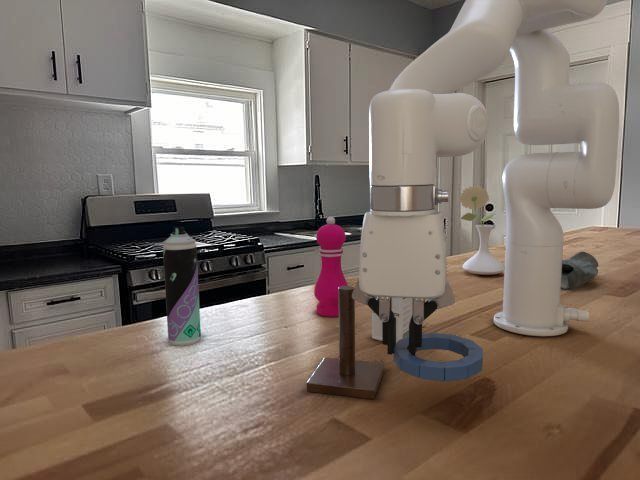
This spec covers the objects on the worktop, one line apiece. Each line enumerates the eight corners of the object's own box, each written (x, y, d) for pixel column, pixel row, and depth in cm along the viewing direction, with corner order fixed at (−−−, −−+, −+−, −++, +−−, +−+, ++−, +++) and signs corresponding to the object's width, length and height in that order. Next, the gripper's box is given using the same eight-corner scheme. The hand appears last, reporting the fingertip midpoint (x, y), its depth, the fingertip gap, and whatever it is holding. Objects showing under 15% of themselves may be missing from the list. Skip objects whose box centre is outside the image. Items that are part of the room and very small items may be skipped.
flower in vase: (508, 271, 134) (511, 185, 131) (499, 279, 124) (503, 186, 121) (462, 267, 141) (464, 185, 138) (451, 274, 131) (453, 186, 128)
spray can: (171, 347, 77) (164, 229, 75) (166, 338, 82) (159, 226, 80) (204, 342, 80) (198, 226, 77) (197, 332, 85) (191, 224, 82)
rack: (384, 370, 67) (384, 281, 66) (374, 399, 59) (374, 298, 57) (324, 364, 70) (323, 278, 68) (306, 391, 61) (304, 294, 59)
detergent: (586, 293, 109) (617, 274, 126) (585, 263, 108) (616, 248, 125) (529, 288, 118) (565, 271, 135) (528, 260, 118) (564, 247, 134)
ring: (483, 349, 59) (484, 337, 58) (480, 386, 49) (481, 372, 49) (403, 341, 62) (403, 329, 62) (386, 374, 53) (386, 361, 53)
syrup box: (402, 345, 77) (403, 259, 75) (370, 338, 80) (370, 256, 78) (414, 335, 82) (415, 254, 80) (383, 329, 85) (384, 251, 83)
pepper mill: (346, 318, 92) (345, 218, 90) (311, 316, 94) (309, 218, 91) (351, 308, 99) (350, 215, 97) (318, 306, 101) (316, 215, 98)
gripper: (472, 198, 55) (469, 345, 58) (343, 199, 60) (345, 336, 63) (475, 203, 48) (471, 369, 51) (328, 203, 53) (332, 357, 55)
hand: (402, 350), depth 57 cm, fingers closed on ring, 2 cm apart
